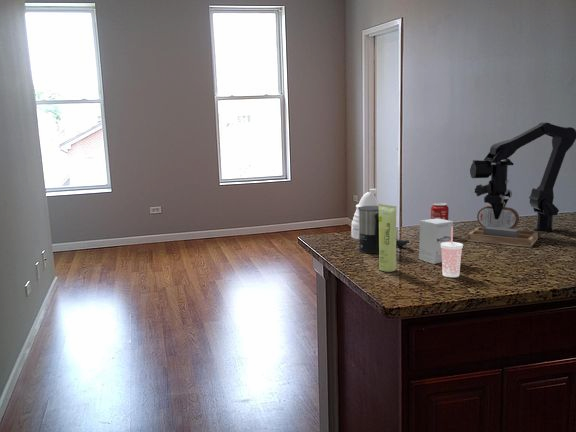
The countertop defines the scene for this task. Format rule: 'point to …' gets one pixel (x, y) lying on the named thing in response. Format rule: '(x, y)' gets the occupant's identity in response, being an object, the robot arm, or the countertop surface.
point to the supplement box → (433, 239)
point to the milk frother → (371, 230)
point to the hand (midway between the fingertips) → (497, 218)
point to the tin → (506, 218)
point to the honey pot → (366, 200)
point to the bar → (501, 232)
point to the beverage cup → (451, 257)
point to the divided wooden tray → (504, 238)
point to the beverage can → (439, 211)
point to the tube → (387, 238)
